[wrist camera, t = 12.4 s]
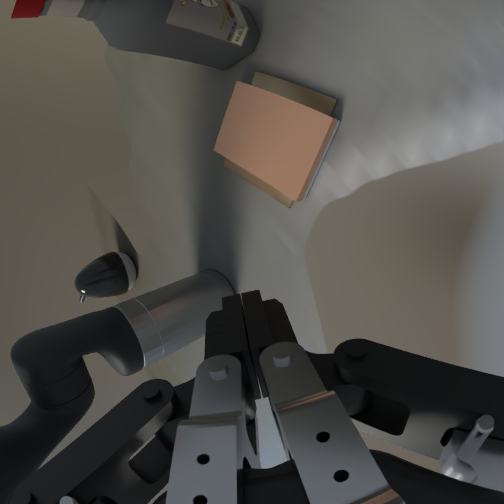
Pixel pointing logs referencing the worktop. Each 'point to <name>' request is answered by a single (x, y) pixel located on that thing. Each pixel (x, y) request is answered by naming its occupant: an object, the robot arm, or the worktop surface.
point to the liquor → (162, 26)
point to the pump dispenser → (106, 276)
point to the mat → (293, 93)
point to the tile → (275, 138)
